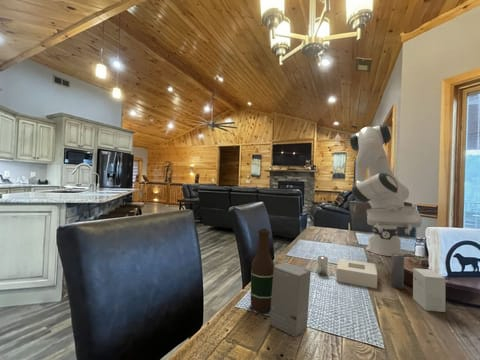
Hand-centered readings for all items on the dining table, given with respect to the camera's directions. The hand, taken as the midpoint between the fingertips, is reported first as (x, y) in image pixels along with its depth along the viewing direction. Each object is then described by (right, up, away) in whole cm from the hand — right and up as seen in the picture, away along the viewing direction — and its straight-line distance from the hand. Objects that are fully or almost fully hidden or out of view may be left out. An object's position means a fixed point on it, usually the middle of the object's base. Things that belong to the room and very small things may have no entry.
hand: (393, 232), depth 104 cm
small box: (-4, -18, -24) cm, 31 cm away
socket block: (-17, -18, -3) cm, 25 cm away
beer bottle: (-58, -17, -27) cm, 66 cm away
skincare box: (-51, -17, -37) cm, 66 cm away
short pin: (-29, -18, +1) cm, 34 cm away
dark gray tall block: (-5, -18, -10) cm, 21 cm away
